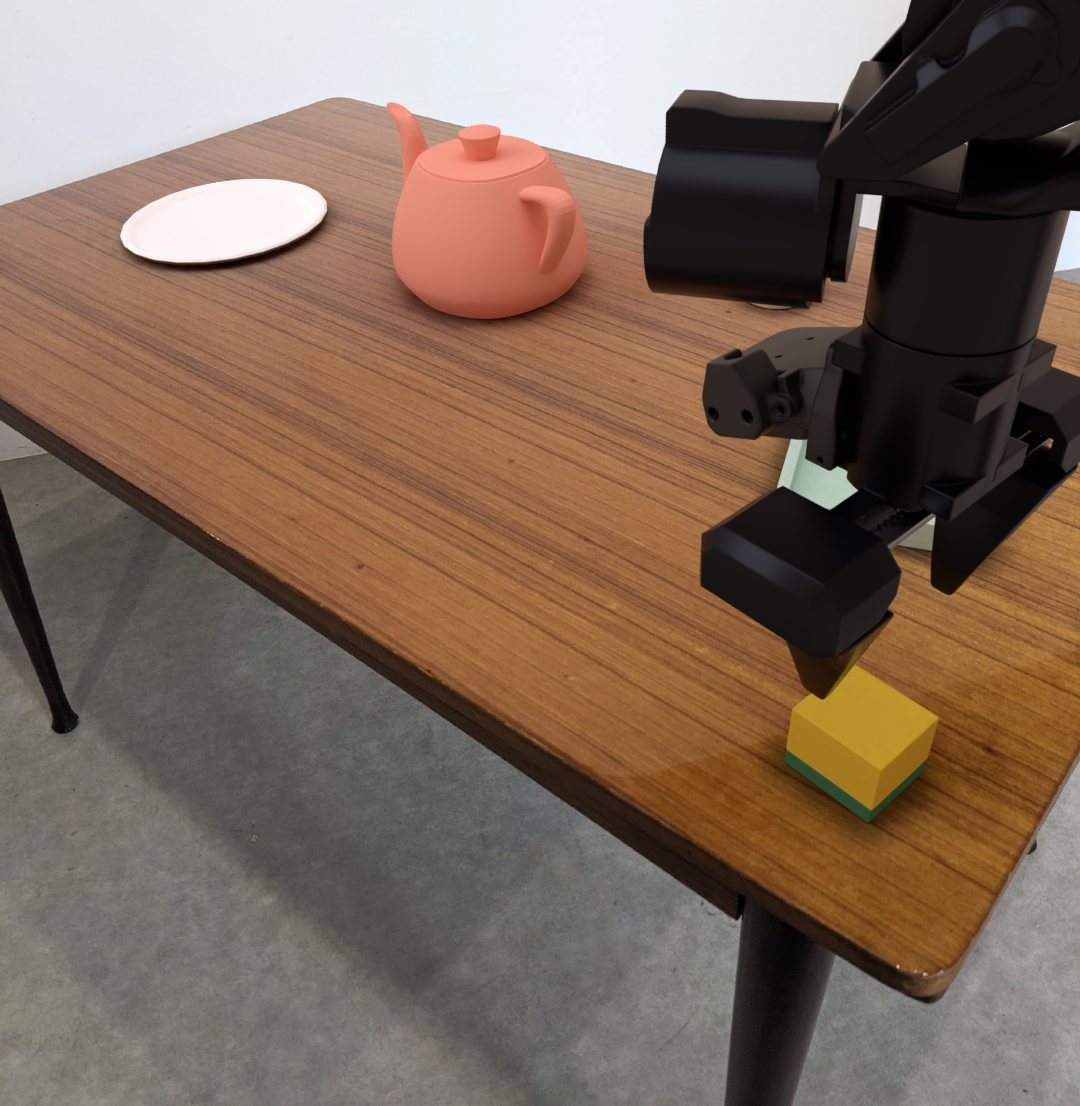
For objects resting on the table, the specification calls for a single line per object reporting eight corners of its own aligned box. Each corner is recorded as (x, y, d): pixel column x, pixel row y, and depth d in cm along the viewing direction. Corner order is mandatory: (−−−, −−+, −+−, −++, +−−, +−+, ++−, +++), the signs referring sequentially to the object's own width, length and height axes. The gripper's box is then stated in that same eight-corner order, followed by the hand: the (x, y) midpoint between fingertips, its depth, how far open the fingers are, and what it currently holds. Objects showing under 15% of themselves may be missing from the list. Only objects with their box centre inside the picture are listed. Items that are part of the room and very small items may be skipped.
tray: (982, 559, 63) (989, 533, 61) (770, 524, 66) (773, 499, 65) (990, 391, 77) (996, 367, 75) (814, 370, 80) (817, 346, 79)
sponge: (924, 771, 51) (940, 717, 49) (868, 824, 49) (881, 770, 46) (839, 714, 54) (850, 660, 52) (783, 762, 52) (791, 708, 49)
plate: (84, 237, 108) (80, 226, 107) (250, 175, 119) (248, 163, 118) (198, 292, 96) (195, 279, 96) (370, 217, 108) (368, 205, 107)
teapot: (336, 265, 99) (309, 119, 91) (478, 213, 107) (465, 74, 98) (496, 360, 84) (481, 195, 75) (649, 291, 92) (651, 135, 83)
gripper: (908, 181, 45) (859, 474, 55) (592, 334, 37) (601, 649, 47) (1169, 255, 39) (1059, 573, 49) (857, 464, 30) (801, 800, 40)
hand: (881, 638), depth 46 cm, fingers open, 9 cm apart
